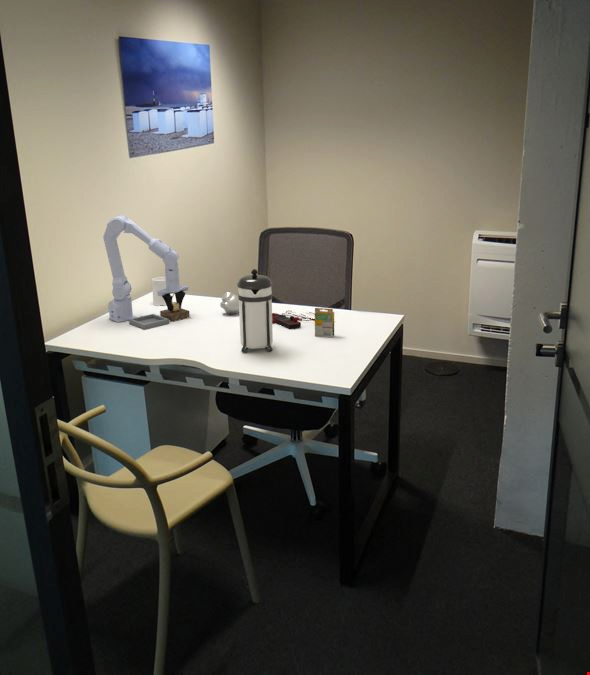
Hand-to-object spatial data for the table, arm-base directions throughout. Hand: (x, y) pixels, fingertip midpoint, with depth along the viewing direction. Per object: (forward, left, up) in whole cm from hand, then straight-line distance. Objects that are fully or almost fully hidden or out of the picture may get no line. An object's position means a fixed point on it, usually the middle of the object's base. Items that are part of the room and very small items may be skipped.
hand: (174, 309), depth 293 cm
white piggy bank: (+21, -13, -4) cm, 25 cm away
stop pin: (0, 0, -4) cm, 4 cm away
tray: (-13, 0, -4) cm, 14 cm away
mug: (+10, +23, -4) cm, 25 cm away
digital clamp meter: (+34, -42, -4) cm, 54 cm away
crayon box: (+26, -65, -4) cm, 70 cm away
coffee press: (-2, -56, -4) cm, 56 cm away
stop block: (0, 0, -4) cm, 4 cm away
